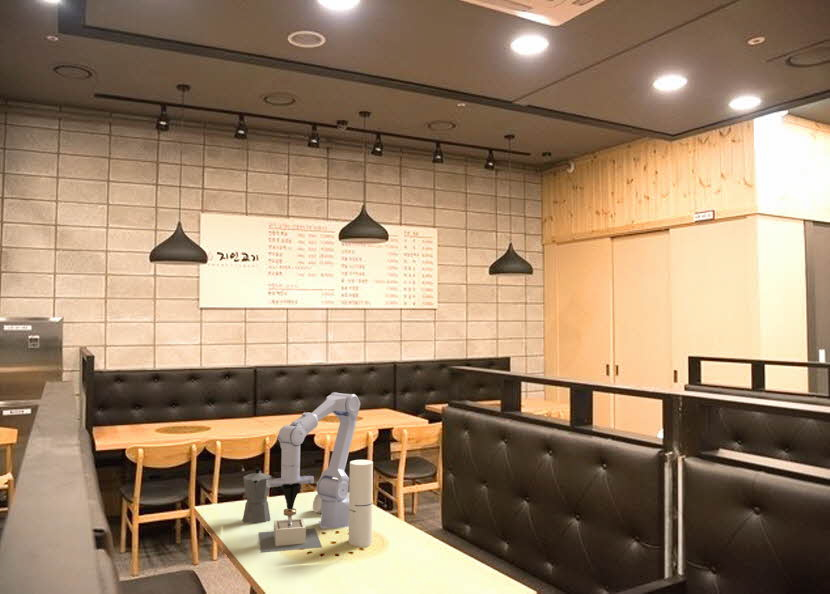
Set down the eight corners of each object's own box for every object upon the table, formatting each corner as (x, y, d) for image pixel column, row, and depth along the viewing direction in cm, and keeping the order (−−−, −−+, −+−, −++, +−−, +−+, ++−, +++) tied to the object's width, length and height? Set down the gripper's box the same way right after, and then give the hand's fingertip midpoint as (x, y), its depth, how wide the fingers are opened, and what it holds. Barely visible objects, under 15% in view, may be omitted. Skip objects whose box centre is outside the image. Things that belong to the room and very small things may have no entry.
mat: (314, 529, 212) (314, 528, 212) (322, 549, 195) (322, 547, 195) (258, 534, 207) (258, 532, 207) (260, 554, 190) (260, 552, 190)
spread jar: (353, 510, 234) (354, 477, 235) (333, 518, 225) (334, 484, 225) (328, 504, 241) (328, 473, 241) (307, 512, 231) (308, 479, 231)
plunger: (299, 522, 205) (299, 506, 205) (301, 529, 199) (301, 512, 199) (278, 524, 203) (278, 507, 204) (279, 530, 197) (280, 513, 197)
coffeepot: (268, 526, 215) (269, 472, 215) (239, 527, 214) (240, 472, 214) (272, 512, 230) (273, 461, 231) (245, 513, 229) (246, 462, 229)
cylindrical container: (368, 548, 196) (369, 465, 197) (345, 546, 197) (346, 464, 198) (374, 540, 203) (375, 460, 204) (352, 538, 204) (353, 459, 205)
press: (302, 533, 207) (302, 518, 207) (305, 543, 198) (305, 527, 198) (273, 535, 204) (274, 520, 204) (275, 545, 196) (275, 529, 196)
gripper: (310, 459, 208) (309, 502, 208) (264, 463, 202) (263, 507, 202) (316, 464, 202) (315, 508, 202) (269, 468, 196) (268, 513, 196)
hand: (289, 508), depth 201 cm, fingers closed
